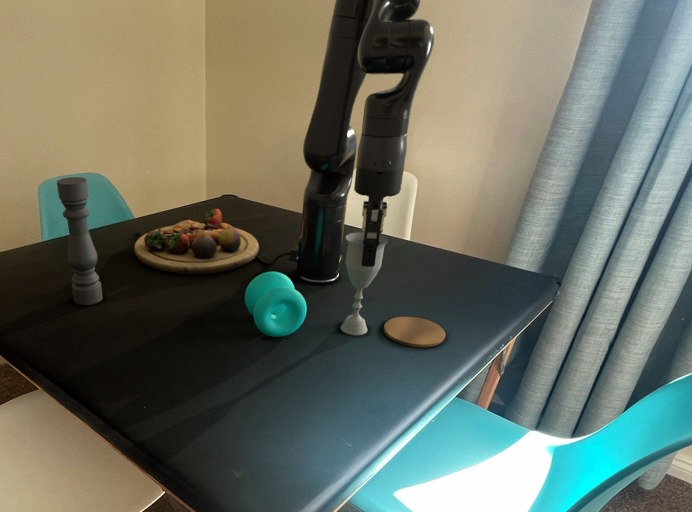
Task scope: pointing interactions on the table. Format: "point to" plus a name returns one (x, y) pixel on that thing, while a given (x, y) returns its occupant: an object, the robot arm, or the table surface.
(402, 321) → the coaster
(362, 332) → the chalice
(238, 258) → the wooden plate
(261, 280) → the turquoise spool
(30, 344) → the table surface
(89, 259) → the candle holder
